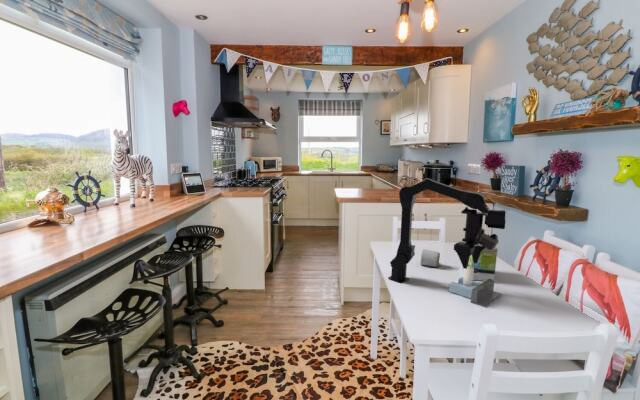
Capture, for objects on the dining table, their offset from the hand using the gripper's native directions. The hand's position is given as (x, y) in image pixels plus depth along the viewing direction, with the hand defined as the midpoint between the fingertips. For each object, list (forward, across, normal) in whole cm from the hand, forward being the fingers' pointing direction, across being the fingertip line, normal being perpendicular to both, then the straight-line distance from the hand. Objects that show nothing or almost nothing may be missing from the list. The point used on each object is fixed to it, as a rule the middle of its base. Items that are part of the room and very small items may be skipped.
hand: (470, 265), depth 131 cm
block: (+11, 0, 0) cm, 11 cm away
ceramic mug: (+11, +19, +27) cm, 34 cm away
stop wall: (+11, 0, -7) cm, 13 cm away
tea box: (+11, +23, +6) cm, 26 cm away
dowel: (+11, 0, 0) cm, 11 cm away
